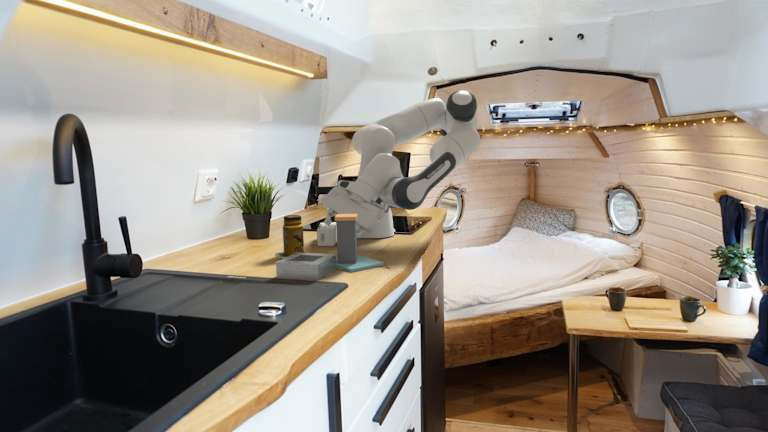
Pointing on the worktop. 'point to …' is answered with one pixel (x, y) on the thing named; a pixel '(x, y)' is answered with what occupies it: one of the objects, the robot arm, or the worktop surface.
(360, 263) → the mat
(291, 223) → the condiment
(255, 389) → the worktop surface
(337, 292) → the worktop surface
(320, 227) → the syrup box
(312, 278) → the collar
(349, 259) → the grey lidded canister
